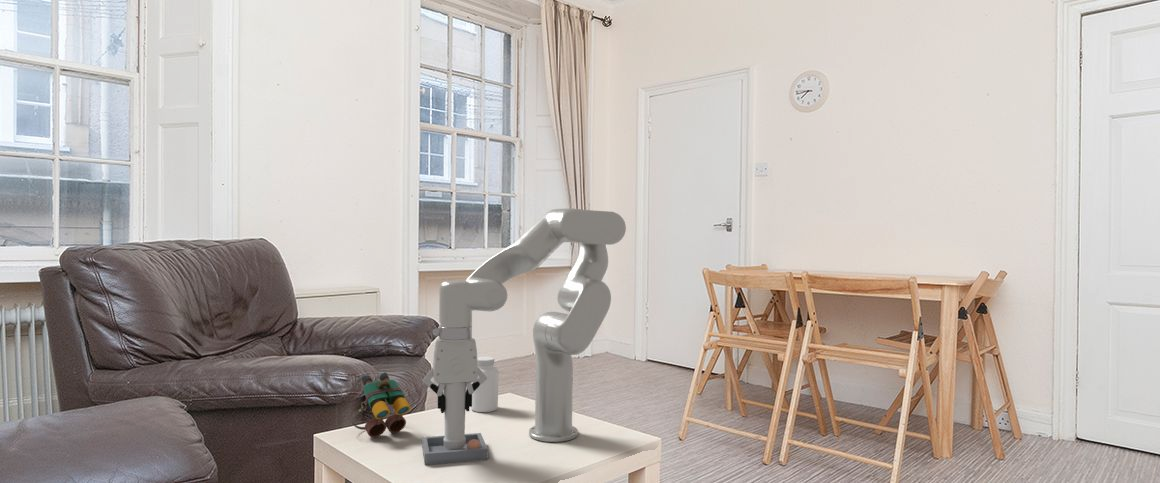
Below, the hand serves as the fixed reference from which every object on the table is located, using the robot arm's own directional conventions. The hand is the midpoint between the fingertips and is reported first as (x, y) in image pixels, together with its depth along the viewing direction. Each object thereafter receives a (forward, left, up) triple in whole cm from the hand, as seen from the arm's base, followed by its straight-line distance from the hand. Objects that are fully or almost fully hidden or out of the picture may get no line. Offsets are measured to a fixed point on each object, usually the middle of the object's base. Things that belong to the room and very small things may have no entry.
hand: (454, 409), depth 153 cm
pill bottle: (-36, +12, -11) cm, 39 cm away
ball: (+3, +4, -9) cm, 11 cm away
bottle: (0, 0, -9) cm, 9 cm away
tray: (0, 0, -10) cm, 10 cm away
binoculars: (-19, -16, -11) cm, 27 cm away
